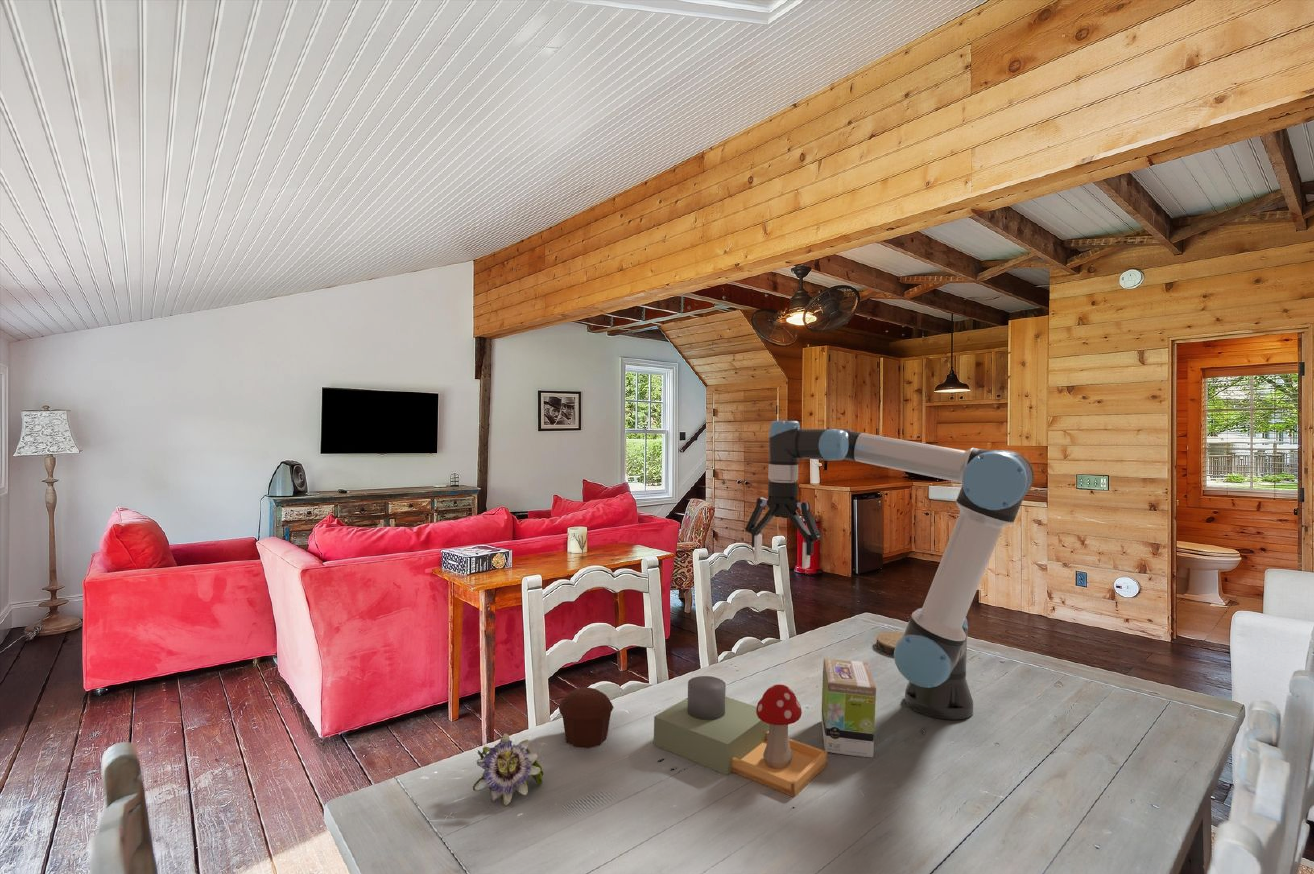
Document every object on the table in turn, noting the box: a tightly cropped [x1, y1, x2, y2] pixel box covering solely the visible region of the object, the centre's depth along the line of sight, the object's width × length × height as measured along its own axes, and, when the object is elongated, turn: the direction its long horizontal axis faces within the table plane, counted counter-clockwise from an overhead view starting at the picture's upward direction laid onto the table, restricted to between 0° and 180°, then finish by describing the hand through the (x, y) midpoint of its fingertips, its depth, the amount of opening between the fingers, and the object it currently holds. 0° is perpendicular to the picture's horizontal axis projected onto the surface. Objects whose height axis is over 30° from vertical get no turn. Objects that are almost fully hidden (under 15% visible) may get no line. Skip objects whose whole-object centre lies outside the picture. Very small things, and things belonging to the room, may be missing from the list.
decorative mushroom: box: [756, 683, 803, 769], centre depth 126 cm, size 10×9×15 cm
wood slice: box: [875, 631, 905, 657], centre depth 194 cm, size 16×16×3 cm
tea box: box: [821, 657, 877, 758], centre depth 138 cm, size 15×10×15 cm, turn 168°
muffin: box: [558, 687, 615, 749], centre depth 136 cm, size 12×11×10 cm
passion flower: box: [472, 732, 544, 807], centre depth 117 cm, size 11×11×12 cm
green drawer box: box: [653, 675, 829, 798], centre depth 131 cm, size 31×18×12 cm, turn 52°
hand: (781, 563), depth 164 cm, fingers open, 13 cm apart
